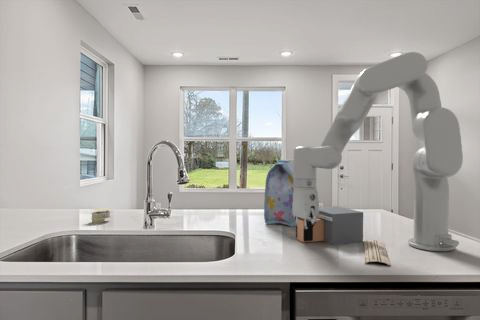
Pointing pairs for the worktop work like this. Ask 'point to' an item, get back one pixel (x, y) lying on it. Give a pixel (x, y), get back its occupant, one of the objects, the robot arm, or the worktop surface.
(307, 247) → the worktop surface
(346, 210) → the grey box
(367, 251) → the newspaper
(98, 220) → the pale yellow grooved block
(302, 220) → the orange rectangular block
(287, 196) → the lunch bag
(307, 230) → the robot arm
